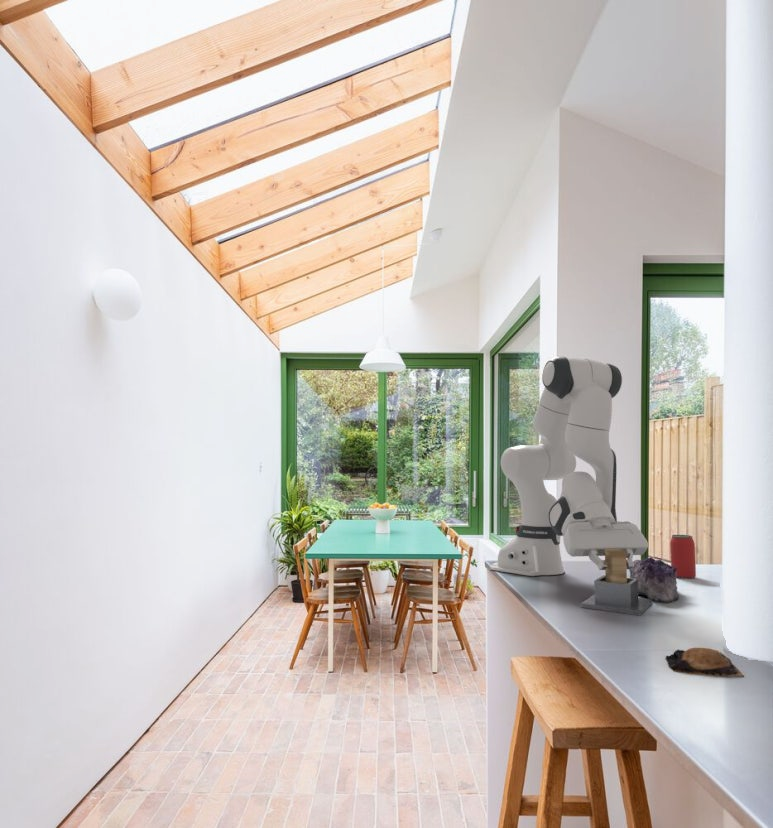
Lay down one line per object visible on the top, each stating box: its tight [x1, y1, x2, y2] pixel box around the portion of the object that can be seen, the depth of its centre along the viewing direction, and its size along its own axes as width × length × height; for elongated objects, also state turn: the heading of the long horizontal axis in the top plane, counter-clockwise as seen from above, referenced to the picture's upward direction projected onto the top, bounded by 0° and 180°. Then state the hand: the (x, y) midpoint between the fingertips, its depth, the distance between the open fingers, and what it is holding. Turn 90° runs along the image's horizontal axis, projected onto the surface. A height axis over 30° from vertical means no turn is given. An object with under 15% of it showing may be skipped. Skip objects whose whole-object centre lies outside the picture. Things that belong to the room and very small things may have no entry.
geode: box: [628, 556, 679, 604], centre depth 155 cm, size 20×12×10 cm, turn 169°
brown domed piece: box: [664, 647, 745, 678], centre depth 101 cm, size 11×9×4 cm
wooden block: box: [604, 549, 628, 584], centre depth 144 cm, size 4×4×12 cm
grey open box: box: [581, 575, 653, 616], centre depth 143 cm, size 13×13×6 cm
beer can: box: [669, 534, 697, 580], centre depth 178 cm, size 7×7×12 cm
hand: (617, 568), depth 143 cm, fingers open, 5 cm apart
